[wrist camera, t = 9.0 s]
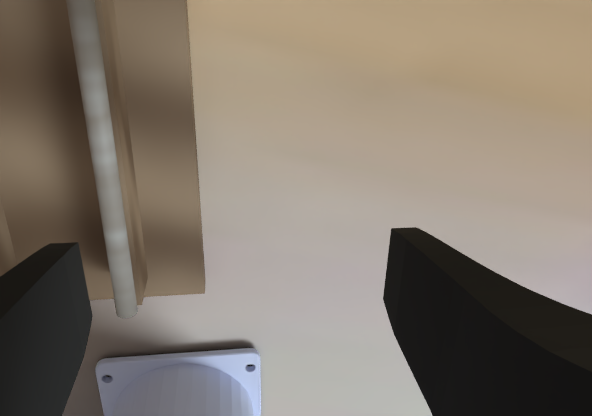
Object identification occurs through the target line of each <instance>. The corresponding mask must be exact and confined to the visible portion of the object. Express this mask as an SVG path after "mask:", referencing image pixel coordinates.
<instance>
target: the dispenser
mask: <svg viewBox="0 0 592 416" xmlns="http://www.w3.org/2000/svg"><path fill="white" fill-rule="evenodd" d="M71 242H78V243H79V248H80V253H81V259H82V264H83V269H84V274H85V280H86V285H87V290H88V296H89V300H98V299H114V301H115V307H116V313H117V316H118V317H120V318H130V317H133V316H134V315H136V314H137V312H138V308H137V305H142V302H143V297H150V296H168V295H185V294H202V293H205V269H204V254H203V239H202V224H201V209H200V194H199V179H198V164H197V149H196V134H195V119H194V104H193V89H192V74H191V59H190V44H189V29H188V14H187V0H0V276H2V275H3V274H5V273H6V272H8V271H9V270H10V269H12V268H13V267H15V266H16V265H18V264H19V263H20V262H22V261H23V260H25V259H26V258H28V257H29V256H30V255H32V254H33V253H35V252H36V251H38V250H39V249H41V248H43V247H44V246H46V245H48V244H50V243H71Z"/></svg>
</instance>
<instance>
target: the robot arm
mask: <svg viewBox="0 0 592 416" xmlns="http://www.w3.org/2000/svg"><path fill="white" fill-rule="evenodd" d="M383 300H384V303H385V307H386V310H387V313H388V317H389V320H390V323H391V326H392V329H393V332H394V335H395V337H396V339H397V341H398V344H399V346H400V348H401V350H402V352H403V354H404V356H405V358H406V361H407V363H408V365H409V367H410V369H411V371H412V373H413V375H414V377H415V379H416V381H417V383H418V385H419V387H420V390H421V392H422V394H423V396H424V398H425V400H426V402H427V404H428V406H429V408H430V410H431V413H432V415H433V416H592V315H591V314H589V313H586V312H583V311H580V310H577V309H575V308H572V307H569V306H567V305H564V304H562V303H559V302H557V301H554V300H552V299H550V298H547V297H545V296H543V295H540V294H538V293H536V292H533V291H531V290H529V289H527V288H525V287H523V286H521V285H519V284H517V283H515V282H513V281H511V280H509V279H507V278H505V277H503V276H501V275H499V274H497V273H495V272H494V271H492V270H490V269H488V268H486V267H484V266H483V265H481V264H479V263H477V262H476V261H474V260H472V259H471V258H469V257H467V256H465V255H464V254H462V253H460V252H459V251H457V250H455V249H454V248H452V247H450V246H449V245H447V244H445V243H444V242H442V241H440V240H439V239H437V238H435V237H433V236H432V235H430V234H428V233H426V232H424V231H423V230H420V229H418V228H416V227H415V228H392V229H391V236H390V245H389V253H388V262H387V271H386V279H385V288H384V296H383ZM91 321H92V311H91V306H90V301H89V296H88V290H87V285H86V280H85V274H84V269H83V264H82V259H81V253H80V248H79V243H78V242H71V243H50V244H48V245H46V246H44V247H43V248H41V249H39V250H38V251H36V252H35V253H33V254H32V255H30V256H29V257H28V258H26V259H25V260H23V261H22V262H20V263H19V264H18V265H16V266H15V267H13V268H12V269H10V270H9V271H8V272H6V273H5V274H3V275H2V276H0V416H62V414H63V411H64V408H65V406H66V403H67V400H68V398H69V395H70V392H71V390H72V387H73V384H74V382H75V379H76V376H77V374H78V371H79V368H80V366H81V363H82V360H83V357H84V354H85V349H86V345H87V341H88V336H89V331H90V326H91ZM249 364H253V366H251V367H249V366H247V365H249ZM95 372H96V377H97V383H98V388H99V393H100V398H101V403H102V408H103V413H104V416H261V385H260V354H259V352H258V351H257V350H256V349H254V348H243V349H229V350H215V351H201V352H187V353H173V354H159V355H145V356H131V357H117V358H105V359H101V360H100V361H98V363H97V365H96V369H95ZM104 375H110V376H112V377H106V376H104Z"/></svg>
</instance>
